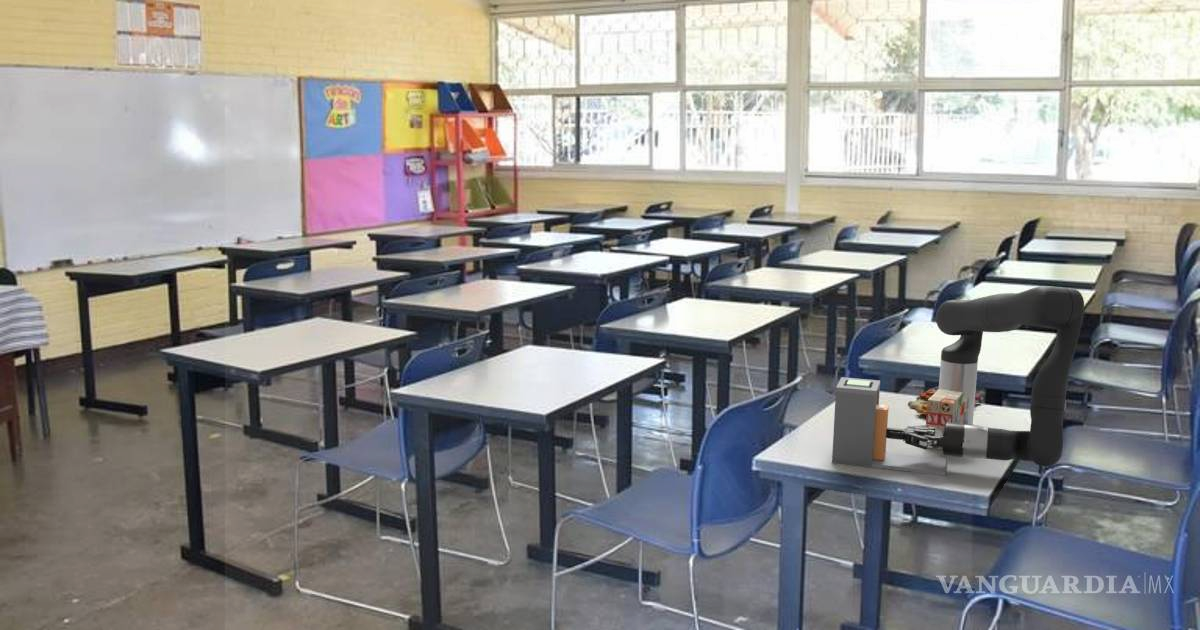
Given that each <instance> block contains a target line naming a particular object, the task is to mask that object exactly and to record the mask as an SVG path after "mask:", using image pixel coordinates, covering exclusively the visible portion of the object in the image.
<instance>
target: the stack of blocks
mask: <svg viewBox="0 0 1200 630" xmlns="http://www.w3.org/2000/svg"><path fill="white" fill-rule="evenodd" d="M968 404H969V396H963V392H957V391H949V390H941V389H938V390H937V391H936V393H935V394H933V395H932V396H931V397H930V398H929V399H928V402H927V415H925V417H926V418H925V425H929V426H930V427H934V428H935V429H938V430H944V425H945V423H957V424H968V411H969V408H968ZM936 448H938V450H943V448H942V447H934V448H933V449H936Z"/></svg>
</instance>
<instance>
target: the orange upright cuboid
mask: <svg viewBox="0 0 1200 630" xmlns="http://www.w3.org/2000/svg"><path fill="white" fill-rule="evenodd" d="M889 409H890V407H889V404H888V405H887V404H881V403H879V404H876V419H875V435H874V451H873V459H877V460H884V459H885V455H886V452H887V439H888V438H886V430H887V428H888V422H889V420H888V419H889Z"/></svg>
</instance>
